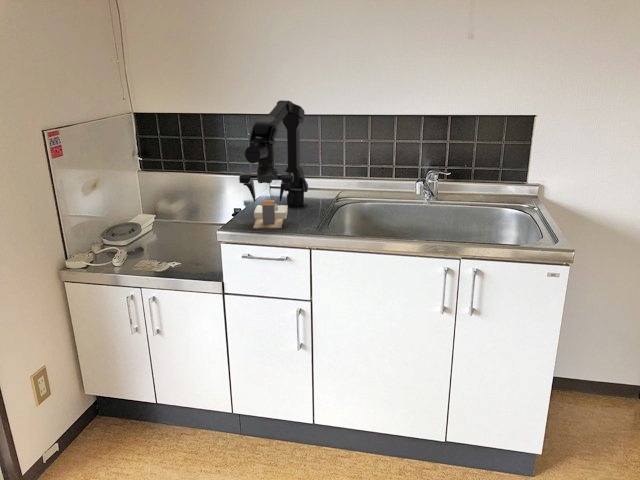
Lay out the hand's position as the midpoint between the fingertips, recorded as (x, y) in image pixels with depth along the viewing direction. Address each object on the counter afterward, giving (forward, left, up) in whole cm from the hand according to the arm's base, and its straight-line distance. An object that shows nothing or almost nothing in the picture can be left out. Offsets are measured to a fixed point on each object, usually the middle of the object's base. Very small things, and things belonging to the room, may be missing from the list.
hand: (267, 201), depth 193 cm
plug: (0, 0, -8) cm, 8 cm away
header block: (0, -11, -9) cm, 14 cm away
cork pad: (0, 0, -9) cm, 9 cm away
